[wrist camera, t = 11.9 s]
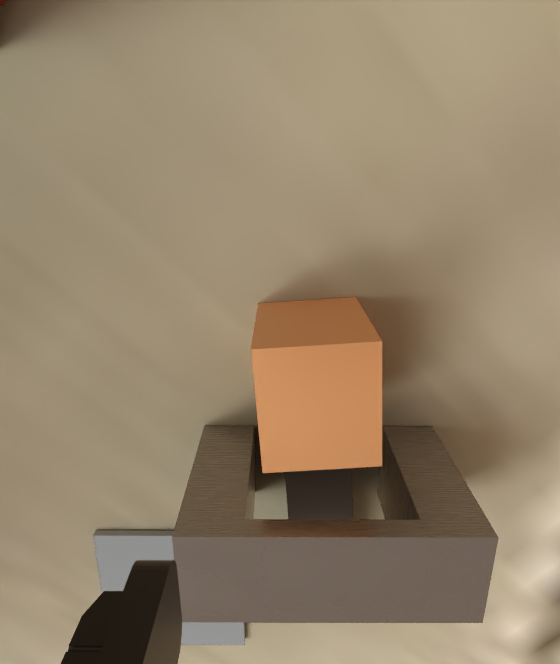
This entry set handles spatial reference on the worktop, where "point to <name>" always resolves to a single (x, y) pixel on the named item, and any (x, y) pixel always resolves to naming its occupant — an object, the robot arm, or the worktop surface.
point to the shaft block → (333, 543)
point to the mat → (132, 545)
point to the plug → (317, 400)
